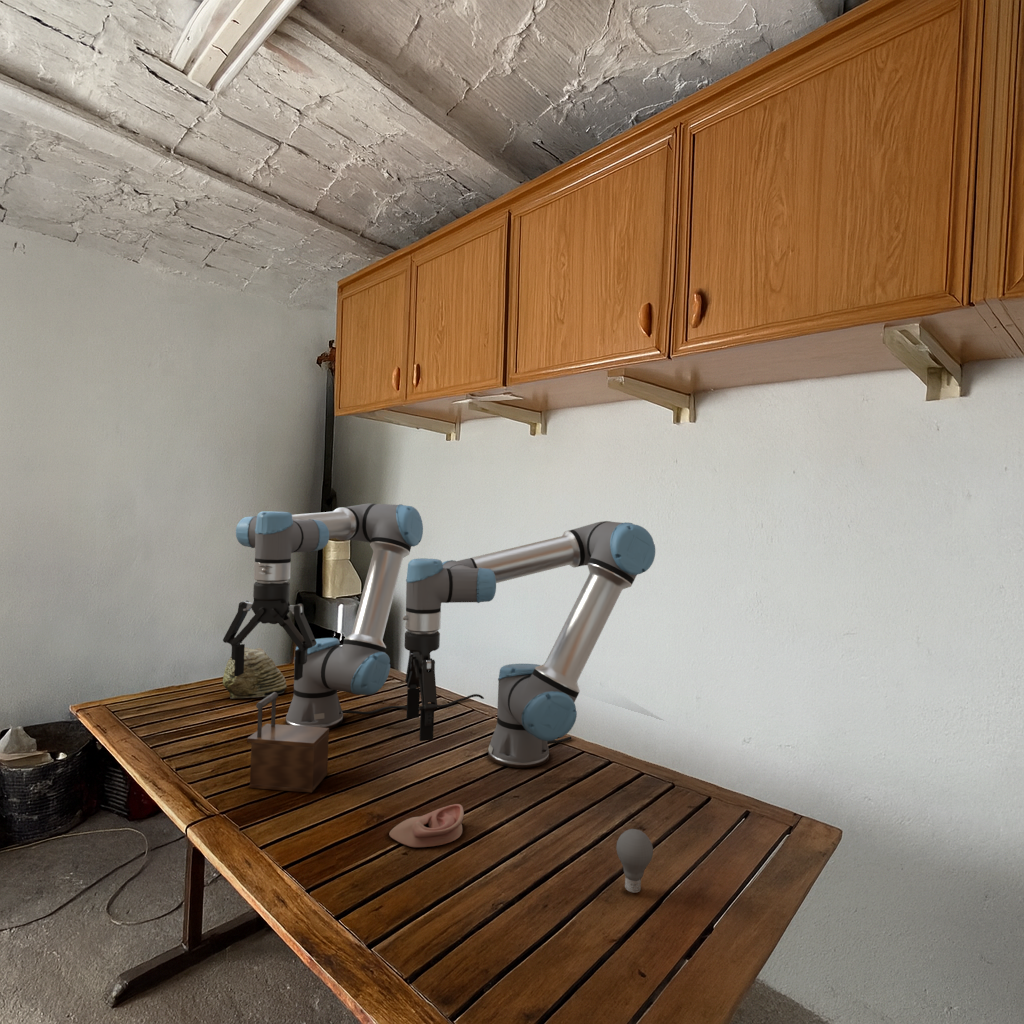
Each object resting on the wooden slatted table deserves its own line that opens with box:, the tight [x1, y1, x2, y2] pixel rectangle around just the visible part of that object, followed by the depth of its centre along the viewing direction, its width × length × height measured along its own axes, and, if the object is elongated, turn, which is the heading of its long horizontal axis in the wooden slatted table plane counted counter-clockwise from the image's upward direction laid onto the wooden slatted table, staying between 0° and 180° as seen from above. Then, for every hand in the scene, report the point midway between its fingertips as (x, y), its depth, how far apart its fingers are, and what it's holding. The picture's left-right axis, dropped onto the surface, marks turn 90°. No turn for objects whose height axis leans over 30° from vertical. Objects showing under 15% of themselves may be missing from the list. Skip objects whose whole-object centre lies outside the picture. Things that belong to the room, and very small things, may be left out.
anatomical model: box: [388, 803, 465, 848], centre depth 121 cm, size 13×4×12 cm
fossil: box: [222, 646, 288, 699], centre depth 198 cm, size 9×18×15 cm, turn 132°
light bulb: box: [615, 828, 654, 894], centre depth 106 cm, size 6×6×10 cm
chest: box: [249, 731, 330, 794], centre depth 140 cm, size 14×9×10 cm, turn 86°
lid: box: [246, 692, 330, 747], centre depth 140 cm, size 15×9×9 cm, turn 86°
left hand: (268, 676), depth 140 cm, fingers open, 13 cm apart
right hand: (419, 728), depth 137 cm, fingers open, 13 cm apart
